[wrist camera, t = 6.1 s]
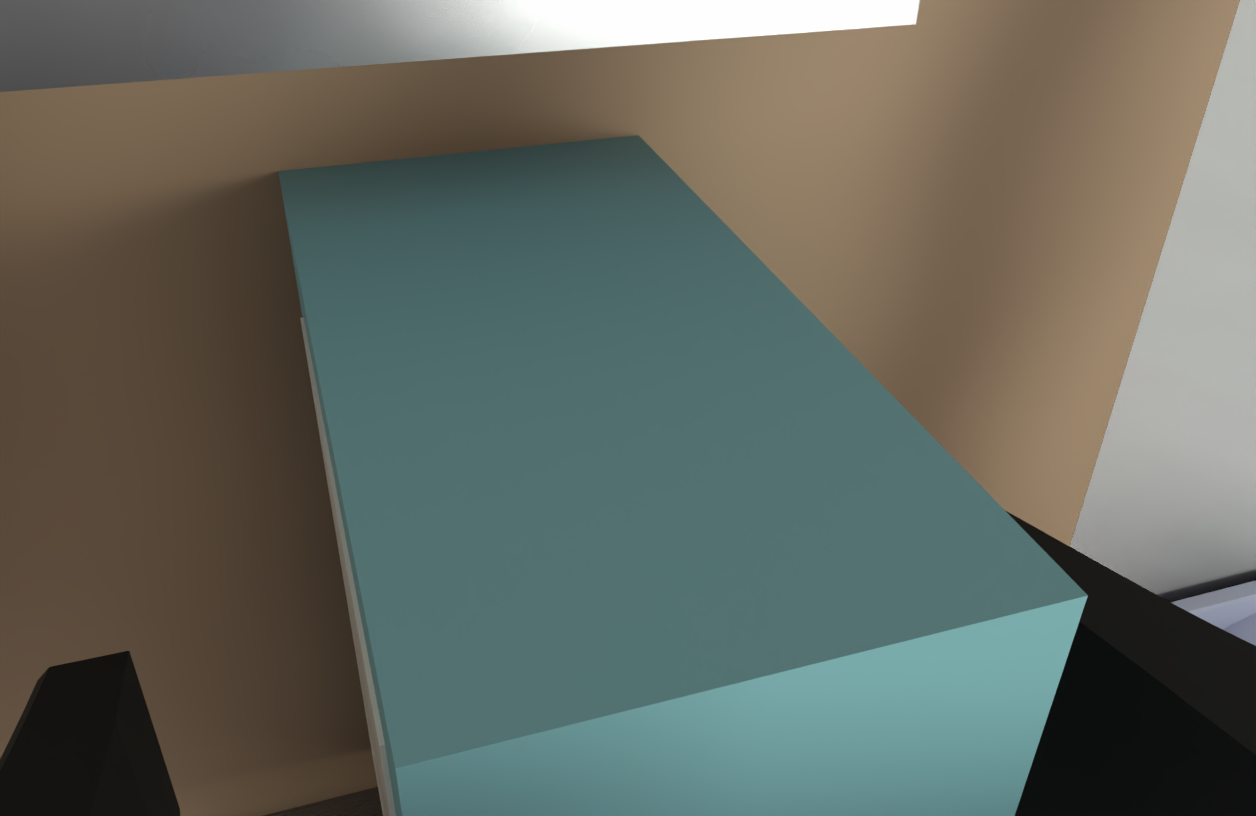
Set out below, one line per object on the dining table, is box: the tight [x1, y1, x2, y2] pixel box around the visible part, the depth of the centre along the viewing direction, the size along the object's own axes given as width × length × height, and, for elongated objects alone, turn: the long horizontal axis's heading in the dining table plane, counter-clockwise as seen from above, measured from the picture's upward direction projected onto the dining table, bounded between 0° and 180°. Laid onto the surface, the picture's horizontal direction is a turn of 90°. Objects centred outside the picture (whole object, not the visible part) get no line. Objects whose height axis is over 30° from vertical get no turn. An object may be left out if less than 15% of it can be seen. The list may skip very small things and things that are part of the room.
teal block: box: [278, 135, 1088, 816], centre depth 10 cm, size 4×8×7 cm, turn 179°
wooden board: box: [0, 0, 1240, 816], centre depth 13 cm, size 18×14×3 cm
